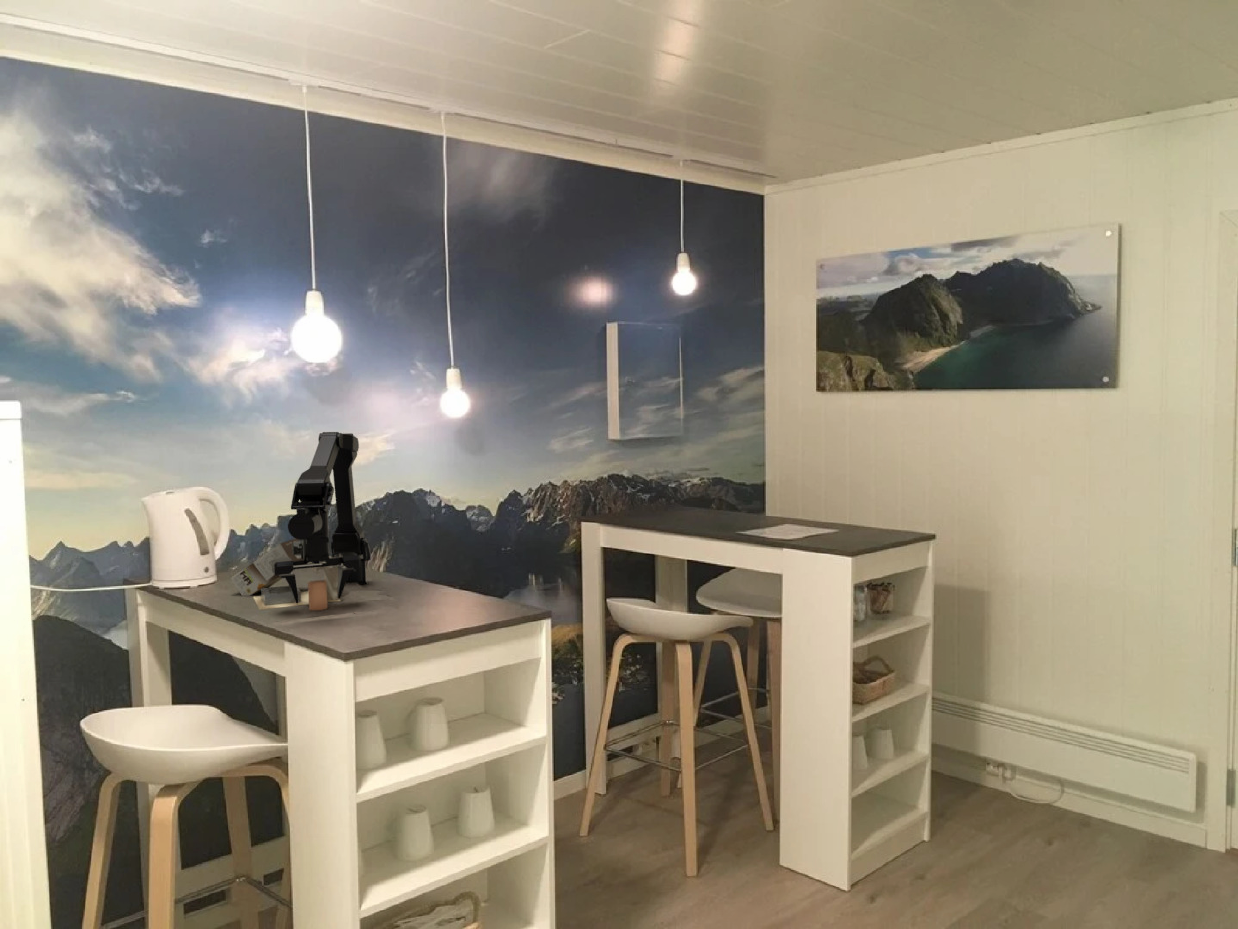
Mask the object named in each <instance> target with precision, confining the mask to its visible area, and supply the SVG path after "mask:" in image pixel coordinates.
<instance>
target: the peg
mask: <svg viewBox="0 0 1238 929" xmlns="http://www.w3.org/2000/svg"><path fill="white" fill-rule="evenodd" d="M307 591H308V595H309V604H308V609H309V610H310V611H323V610H326V609H328V602H327V581H324V579H323V580H321V579H319V580H316V579H315V580H311V581H310V580H309V581H308V582H307Z"/></svg>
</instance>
